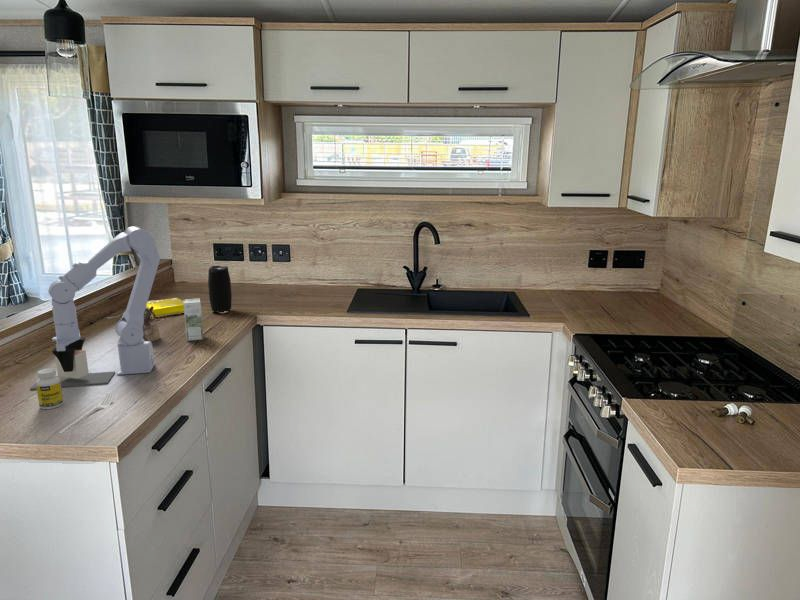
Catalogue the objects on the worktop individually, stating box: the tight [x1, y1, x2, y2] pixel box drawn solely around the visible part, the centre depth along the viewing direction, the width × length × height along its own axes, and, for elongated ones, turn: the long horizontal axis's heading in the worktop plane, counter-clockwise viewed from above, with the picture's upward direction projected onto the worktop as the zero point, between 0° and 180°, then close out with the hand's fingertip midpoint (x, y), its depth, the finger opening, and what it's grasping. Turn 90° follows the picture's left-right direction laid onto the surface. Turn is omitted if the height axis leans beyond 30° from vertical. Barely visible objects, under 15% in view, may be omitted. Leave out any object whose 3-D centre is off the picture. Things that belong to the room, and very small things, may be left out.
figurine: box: [143, 306, 161, 342], centre depth 204 cm, size 7×7×12 cm
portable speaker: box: [207, 265, 233, 313], centre depth 240 cm, size 9×9×20 cm
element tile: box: [146, 297, 184, 316], centre depth 242 cm, size 15×15×5 cm
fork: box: [58, 393, 116, 434], centre depth 144 cm, size 3×20×2 cm, turn 172°
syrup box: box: [182, 298, 204, 342], centre depth 204 cm, size 6×6×14 cm
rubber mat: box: [29, 370, 116, 391], centre depth 166 cm, size 20×9×1 cm, turn 104°
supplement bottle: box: [35, 367, 64, 410], centre depth 149 cm, size 5×5×10 cm
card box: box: [54, 349, 90, 379], centre depth 165 cm, size 4×7×7 cm, turn 76°
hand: (72, 367), depth 165 cm, fingers closed on card box, 6 cm apart
